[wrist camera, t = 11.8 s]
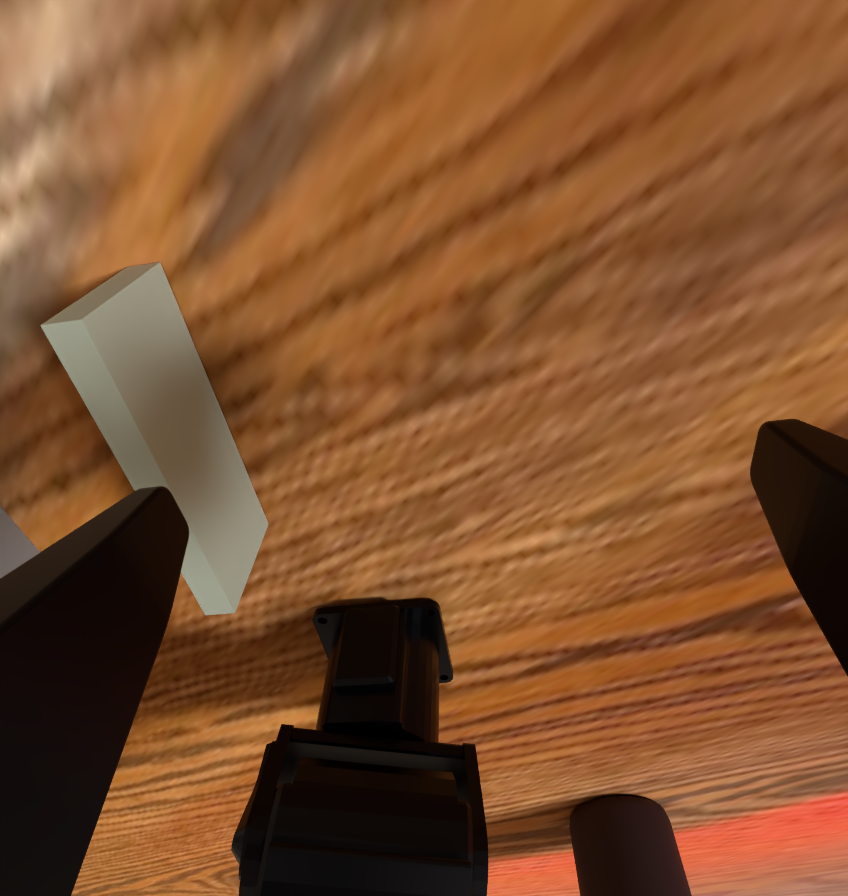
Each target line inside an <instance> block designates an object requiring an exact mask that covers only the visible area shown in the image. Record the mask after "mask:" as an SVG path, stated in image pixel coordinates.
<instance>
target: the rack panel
mask: <svg viewBox="0 0 848 896" xmlns="http://www.w3.org/2000/svg"><path fill="white" fill-rule="evenodd" d="M40 326H41V328H42V329H43V331H44V333H45V335H46V336H47V338H48V340H49V342H50V343H51V345H52V347H53V349H54V350H55V352H56V354H57V356H58V357H59V359H60V361H61V363H62V364H63V366H64V368H65V370H66V371H67V373H68V375H69V377H70V378H71V380H72V382H73V384H74V385H75V387H76V389H77V391H78V392H79V394H80V396H81V398H82V400H83V401H84V403H85V405H86V407H87V408H88V410H89V412H90V414H91V415H92V417H93V419H94V421H95V422H96V424H97V426H98V428H99V429H100V431H101V433H102V435H103V436H104V438H105V440H106V442H107V443H108V445H109V447H110V449H111V450H112V452H113V454H114V456H115V457H116V459H117V461H118V463H119V464H120V466H121V468H122V470H123V471H124V473H125V475H126V477H127V478H128V480H129V482H130V484H131V486H132V487H133V489H134V491H136V490H138V489H140V488H147V487H156V486H163V487H166V488H168V489H169V490H170V491H171V493H172V495H173V497H174V499H175V500H176V502H177V504H178V506H179V508H180V510H181V512H182V514H183V515H184V517H185V519H186V521H187V523H188V527H189V540H188V544H187V548H186V552H185V556H184V561H183V565H182V569H181V573H182V575H183V577H184V579H185V580H186V582H187V584H188V586H189V587H190V589H191V591H192V593H193V594H194V596H195V598H196V600H197V601H198V603H199V605H200V607H201V608H202V610H203V612H204V614H205V615H215V614H228V613H235V611H236V609H237V606H238V603H239V601H240V598H241V595H242V593H243V590H244V588H245V585H246V582H247V580H248V577H249V574H250V572H251V569H252V566H253V564H254V561H255V558H256V556H257V553H258V550H259V548H260V545H261V543H262V540H263V537H264V535H265V532H266V529H267V527H268V522H267V519H266V517H265V514H264V512H263V510H262V507H261V505H260V502H259V500H258V498H257V495H256V493H255V490H254V488H253V486H252V483H251V481H250V478H249V476H248V473H247V471H246V469H245V466H244V464H243V461H242V459H241V457H240V454H239V452H238V449H237V447H236V444H235V442H234V440H233V437H232V435H231V432H230V430H229V428H228V425H227V423H226V420H225V418H224V415H223V413H222V411H221V408H220V406H219V403H218V401H217V399H216V396H215V394H214V391H213V389H212V386H211V384H210V382H209V379H208V377H207V374H206V372H205V370H204V367H203V365H202V362H201V360H200V357H199V355H198V353H197V350H196V348H195V345H194V343H193V341H192V338H191V336H190V333H189V331H188V329H187V326H186V324H185V321H184V319H183V316H182V314H181V312H180V309H179V307H178V304H177V302H176V300H175V297H174V295H173V292H172V290H171V287H170V285H169V283H168V280H167V278H166V275H165V273H164V271H163V268H162V266H161V263H160V262H157V263H150V264H144V265H137V266H131V267H126V268H125V269H123V270H122V271H120V272H119V273H117V274H116V275H114V276H113V277H111V278H110V279H108V280H107V281H105V282H104V283H102V284H101V285H99V286H98V287H96V288H95V289H94V290H92V291H91V292H89V293H88V294H86V295H85V296H83V297H82V298H80V299H79V300H77V301H76V302H74V303H73V304H71V305H70V306H68V307H67V308H65V309H64V310H62V311H61V312H59V313H58V314H56V315H55V316H53V317H52V318H50V319H49V320H47V321H46V322H44V323H43V324H41V325H40Z"/></svg>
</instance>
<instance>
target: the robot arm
mask: <svg viewBox="0 0 848 896" xmlns="http://www.w3.org/2000/svg"><path fill="white" fill-rule="evenodd" d="M750 476H751V482H752V485H753V487H754V490H755V492H756V495H757V497H758V500H759V502H760V504H761V507H762V509H763V512H764V514H765V516H766V519H767V521H768V524H769V526H770V528H771V531H772V533H773V536H774V538H775V540H776V543H777V545H778V548H779V550H780V552H781V555H782V557H783V559H784V562H785V564H786V566H787V568H788V570H789V573H790V575H791V577H792V578H793V580H794V582H795V584H796V586H797V588H798V590H799V591H800V593H801V595H802V597H803V598H804V600H805V602H806V604H807V606H808V607H809V609H810V611H811V613H812V614H813V616H814V618H815V620H816V621H817V623H818V625H819V627H820V628H821V630H822V632H823V634H824V636H825V637H826V639H827V641H828V643H829V644H830V646H831V648H832V650H833V651H834V653H835V655H836V657H837V658H838V660H839V662H840V664H841V666H842V667H843V669H844V671H845V673H846V674H847V676H848V440H847V439H845V438H842V437H840V436H837V435H835V434H832V433H830V432H827V431H825V430H822V429H820V428H817V427H815V426H812V425H810V424H807V423H805V422H802V421H800V420H797V419H785V420H776V421H768V422H765V423H764V424H762V425H761V427H760V429H759V431H758V435H757V440H756V444H755V449H754V453H753V458H752V463H751V468H750ZM188 540H189V527H188V523H187V521H186V519H185V517H184V515H183V514H182V512H181V510H180V508H179V506H178V504H177V502H176V500H175V499H174V497H173V495H172V493H171V491H170V490H169V489H168V488H166V487H163V486H156V487H147V488H140V489H138V490H136V491H134V492H133V493H131V494H130V495H128V496H126V497H125V498H123V499H122V500H120V501H119V502H117V503H116V504H114V505H113V506H111V507H110V508H108V509H106V510H105V511H103V512H102V513H100V514H99V515H97V516H96V517H94V518H93V519H91V520H90V521H88V522H86V523H85V524H83V525H82V526H80V527H79V528H77V529H76V530H74V531H73V532H71V533H70V534H68V535H66V536H65V537H63V538H62V539H60V540H59V541H57V542H56V543H54V544H53V545H51V546H50V547H48V548H46V549H45V550H43V551H42V552H40V553H39V554H37V555H36V556H34V557H33V558H31V559H30V560H28V561H26V562H25V563H23V564H22V565H20V566H19V567H17V568H16V569H14V570H13V571H11V572H9V573H8V574H6V575H5V576H3V577H2V578H0V896H71V894H72V891H73V888H74V886H75V883H76V880H77V877H78V874H79V872H80V869H81V866H82V863H83V860H84V858H85V855H86V852H87V849H88V846H89V844H90V841H91V838H92V835H93V832H94V830H95V827H96V824H97V821H98V818H99V816H100V813H101V810H102V807H103V804H104V802H105V799H106V796H107V793H108V790H109V788H110V785H111V782H112V779H113V776H114V774H115V771H116V768H117V765H118V762H119V760H120V757H121V754H122V751H123V748H124V746H125V743H126V740H127V737H128V734H129V732H130V729H131V726H132V723H133V720H134V718H135V715H136V712H137V709H138V706H139V704H140V701H141V698H142V695H143V692H144V690H145V687H146V684H147V681H148V678H149V676H150V673H151V670H152V667H153V664H154V662H155V659H156V656H157V653H158V650H159V648H160V645H161V642H162V639H163V636H164V633H165V630H166V627H167V624H168V621H169V617H170V614H171V610H172V607H173V602H174V598H175V594H176V590H177V586H178V581H179V577H180V573H181V569H182V565H183V561H184V556H185V552H186V548H187V544H188ZM313 622H314V625H315V627H316V630H317V632H318V635H319V637H320V640H321V642H322V644H323V647H324V649H325V652H326V654H327V657H328V659H329V663H328V668H327V673H326V678H325V683H324V688H323V694H322V699H321V704H320V709H319V714H318V719H317V725H316V730H312V729H302V728H294V725H285V724H281V727H280V731H279V734H278V737H277V740H276V741H273V742H272V743H269V744H267V745H266V748H265V752H264V756H263V760H262V764H261V768H260V771H259V775H258V778H257V781H256V784H255V787H254V790H253V792H252V794H251V797H250V799H249V801H248V804H247V806H246V808H245V811H244V813H243V815H242V818H241V820H240V822H239V825H238V827H237V829H236V832H235V834H234V838H233V842H232V849H231V850H232V852H233V854H234V856H235V858H236V860H237V861H238V863H239V865H240V866H239V880H240V886H239V896H487V883H488V841H487V830H486V821H485V814H484V807H483V799H482V792H481V784H480V777H479V770H478V762H477V755H476V747H475V744H468V743H463V744H462V745H456V744H447V743H438V735H439V683H447V682H450V681H451V680H452V679H453V669H452V664H451V659H450V654H449V649H448V644H447V639H446V635H445V630H444V625H443V620H442V615H441V610H440V606H439V604H438V603H437V602H436V601H433V600H423V601H410V602H396V603H383V604H369V605H356V606H343V607H329V608H320V609H317V610H316V611H315V612H314V616H313Z"/></svg>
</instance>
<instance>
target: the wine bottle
mask: <svg viewBox="0 0 848 896" xmlns="http://www.w3.org/2000/svg"><path fill="white" fill-rule="evenodd" d="M570 833H571V839H572V846H573V852H574V858H575V864H576V871H577V877H578V883H579V890H580V896H692V895H691V892H690V888H689V885H688V881H687V878H686V874H685V871H684V868H683V864H682V861H681V857H680V854H679V850H678V847H677V844H676V840H675V837H674V833H673V830H672V826H671V823H670V820H669V818H668V816H667V814H666V812H665V810H664V809H663V808H662V807H661V806H660V805H659V804H657V803H656V802H653V801H651V800H648V799H644V798H639V797H631V796H612V797H605V798H600V799H596V800H593V801H590V802H588V803H585V804H583V805H582V806H580V807H578V808H577V809H576V810H575V811H574V812H573V813H572V814H571V817H570Z"/></svg>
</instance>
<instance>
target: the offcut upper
mask: <svg viewBox="0 0 848 896" xmlns="http://www.w3.org/2000/svg"><path fill="white" fill-rule="evenodd" d="M39 553H40V551H39V550H38V549H37V548H36V547H35V545H34V544H33V543H32V542H31V541H30V540H29V539H28V537H27V536H26V535H25V534H24V533H23V532H22V531H21V529H20V528H19V527H18V526H17V525H16V524H15V523H14V521H13V520H12V519H11V518H10V517H9V516H8V515H7V513H6V512H5V511H4V510H3V509H2V508H1V506H0V578H2V577H3V576H5V575H6V574H8V573H9V572H11V571H13V570H14V569H16V568H17V567H19V566H20V565H22V564H23V563H25V562H26V561H28V560H30V559H31V558H33V557H34V556H36V555H37V554H39Z"/></svg>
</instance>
